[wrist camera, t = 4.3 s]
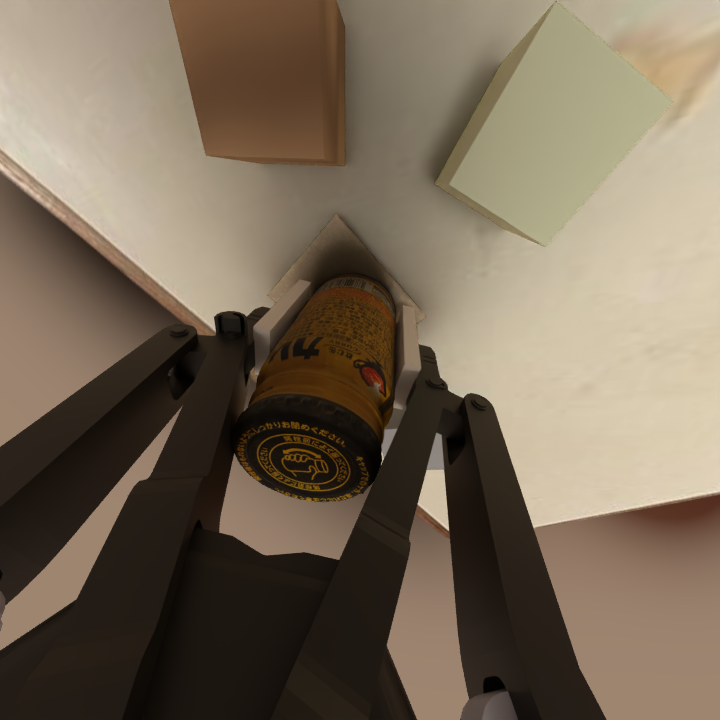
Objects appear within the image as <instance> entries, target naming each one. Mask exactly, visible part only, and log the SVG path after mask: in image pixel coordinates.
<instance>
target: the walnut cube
mask: <svg viewBox="0 0 720 720" xmlns="http://www.w3.org/2000/svg"><path fill="white" fill-rule="evenodd" d="M169 3H170V7H171V11H172V15H173V20H174V24H175V28H176V32H177V36H178V41H179V45H180V49H181V53H182V57H183V62H184V66H185V70H186V74H187V78H188V83H189V87H190V91H191V95H192V99H193V103H194V108H195V112H196V116H197V120H198V124H199V129H200V133H201V137H202V141H203V145H204V150H205V154H206V156H213V157H219V158H226V159H233V160H240V161H247V162H253V163H268V164H298V165H328V166H345V26H344V22H343V19H342V16H341V13H340V10H339V7H338V4H337V1H336V0H169Z"/></svg>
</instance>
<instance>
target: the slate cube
mask: <svg viewBox="0 0 720 720" xmlns="http://www.w3.org/2000/svg"><path fill="white" fill-rule="evenodd" d="M405 410H406V404H405V406H404V408H403V410H401V409H397V408H393V413H392V416H391V418H390V421H389V423H388V425H387V426H386V428H385V430H384V440H383V443H382V452H383V456H384V458H385V456H386V453H387V451H388V449H389V447H390V444H391V442H392V440H393V438H394V435H395V433H396V431H397V428H398V426H399V424H400V422H401V419H402V417H403V415H404V413H405ZM440 469H444V461H443V449H442V435H440V434H438V433H436V436H435V439H434V443H433V447H432V451H431V454H430V458H429V462H428V466H427V470H440Z"/></svg>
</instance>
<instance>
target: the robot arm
mask: <svg viewBox="0 0 720 720" xmlns="http://www.w3.org/2000/svg"><path fill="white" fill-rule="evenodd" d="M310 290H311V282H308V281H304V280H299V281H298V282H297V283H296V284H295V285H294V286H293V287H292V288H291V289H290V290H289V291H288V292H287V293H286V294H285V295H284V296H283V297H282V298H281V299H280V300H279V301H278V302H277V303H276V304H275V305H274V306H273V307H272V308H271V309H270V308H266V307H260V308H257V309H255V310H254V311H252V312H251V313H250V315H248V316H247V317H246V316H245V315H244V314H242V313H240V312H235V311H226V312H221V313H219V314H217V315H216V316H215V317H214V320H215V327H216V335H215V336H206V335H197V330H196V328H194V327H193V326H190V325H185V324H175V325H171V326H168V327H166V328H164V329H162V330H161V331H160V332H158V333H157V334H155V335H154V336H153V337H151V338H150V339H148V340H147V341H146V342H144V343H143V344H142V345H140V346H139V347H137V348H136V349H135V350H133V351H132V352H131V353H129V354H128V355H126V356H125V357H124V358H122V359H121V360H120V361H118V362H117V363H115V364H114V365H113V366H111V367H110V368H108V369H107V370H106V371H104V372H103V373H102V374H100V375H99V376H97V377H96V378H95V379H93V380H92V381H91V382H89V383H88V384H86V385H85V386H84V387H82V388H81V389H80V390H78V391H77V392H75V393H74V394H73V395H71V396H70V397H69V398H67V399H66V400H65V401H63V402H62V403H60V404H59V405H57V406H56V407H55V408H53V409H52V410H51V411H49V412H48V413H46V414H45V415H44V416H42V417H41V418H40V419H38V420H37V421H35V422H34V423H33V424H32V425H30V426H29V427H27V428H26V429H24V430H23V431H22V432H20V433H19V434H18V435H16V436H15V437H13V438H12V439H11V440H9V441H8V442H6V443H5V444H4V445H2V446H1V447H0V630H1V627H2V622H1V617H2V614H3V612H4V609H5V605H6V604H8V602H10V601H11V600H12V599H13V598H14V597H15V596H17V595H18V594H19V593H20V592H21V591H22V590H23V589H24V588H25V587H26V586H27V585H28V584H29V583H30V582H31V581H32V580H33V579H34V578H35V577H36V576H37V575H38V574H39V573H40V572H41V571H42V570H43V569H44V568H45V567H46V566H47V565H48V564H49V563H50V561H51V560H52V559H53V558H54V557H55V556H56V555H57V554H58V553H59V552H60V550H61V549H62V548H63V547H64V546H65V545H66V544H67V542H68V541H69V540H70V539H71V538H72V536H73V535H74V534H75V533H76V532H77V530H78V529H79V528H80V527H81V526H82V524H83V523H84V522H85V521H86V520H87V519H88V517H89V516H90V515H91V514H92V512H93V511H94V510H95V509H96V508H97V507H98V506H99V504H100V503H101V502H102V501H103V499H104V498H105V497H106V496H107V495H108V494H109V492H110V491H111V490H112V489H113V488H114V486H115V485H116V484H117V483H118V482H119V480H120V479H121V478H122V477H123V476H124V475H125V473H126V472H127V471H128V470H129V469H130V467H131V466H132V465H133V464H134V463H135V461H136V460H137V459H138V458H139V457H140V456H141V454H142V453H143V452H144V451H145V450H146V448H147V447H148V446H149V445H150V444H151V442H152V441H153V440H154V439H155V438H156V436H157V435H158V434H159V433H160V432H161V430H162V429H163V428H164V427H165V426H166V424H167V423H168V422H169V421H170V420H171V419H172V417H173V416H174V415H175V414H176V412H177V411H178V410H179V409H180V408H181V407H182V405H183V407H182V409H181V411H180V413H179V416H178V418H177V420H176V422H175V424H174V426H173V428H172V430H171V433H170V435H169V437H168V439H167V441H166V443H165V446H164V448H163V450H162V452H161V454H160V457H159V459H158V461H157V463H156V465H155V467H154V469H153V472H152V473H151V475H150V477H149V478H148V479H146V480H142V481H139V482H138V483H137V484H136V485H135V486H134V487H133V489H132V491H131V492H130V494H129V496H128V498H127V500H126V502H125V504H124V506H123V508H122V510H121V512H120V514H119V516H118V518H117V520H116V522H115V524H114V526H113V528H112V530H111V532H110V534H109V536H108V538H107V540H106V542H105V544H104V546H103V548H102V550H101V552H100V554H99V556H98V558H97V560H96V562H95V564H94V566H93V568H92V570H91V572H90V574H89V576H88V578H87V580H86V582H85V584H84V586H83V588H82V590H81V592H80V594H79V596H78V598H77V599H76V600H75V601H73V602H72V603H70V604H69V605H67V606H66V607H64V608H63V609H62V610H60V611H59V612H57V613H56V614H54V615H53V616H51V617H50V618H48V619H47V620H45V621H44V622H42V623H41V624H39V625H38V626H36V627H35V628H33V629H32V630H30V631H29V632H27V633H26V634H24V635H23V636H21V637H20V638H18V639H17V640H15V641H14V642H12V643H11V644H9V645H8V646H6V647H5V648H3V649H2V650H0V720H417V719H416V716H415V714H414V711H413V709H412V706H411V704H410V701H409V699H408V697H407V694H406V692H405V689H404V687H403V684H402V682H401V680H400V677H399V675H398V672H397V670H396V667H395V665H394V663H393V660H392V658H391V655H390V653H389V650H388V648H387V641H388V637H389V633H390V629H391V625H392V621H393V617H394V613H395V609H396V605H397V601H398V597H399V593H400V589H401V585H402V581H403V577H404V573H405V569H406V565H407V561H408V556H409V552H410V541H409V534H410V530H411V526H412V523H413V519H414V515H415V511H416V507H417V504H418V500H419V496H420V492H421V489H422V485H423V481H424V477H425V473H426V470H427V466H428V462H429V458H430V454H431V451H432V447H433V443H434V439H435V436H436V433H438V434H440V435H442V449H443V461H444V472H445V484H446V496H447V508H448V520H449V532H450V543H451V555H452V567H453V579H454V591H455V603H456V615H457V627H458V637H459V645H460V654H461V661H462V667H463V672H464V677H465V682H466V687H467V692H468V696H469V700H468V702H467V703H466V705H465V706H464V708H463V711H462V715H461V719H460V720H606V718H605V716H604V714H603V712H602V710H601V708H600V706H599V704H598V703H597V701H596V699H595V697H594V695H593V693H592V691H591V689H590V687H589V685H588V684H587V682H586V680H585V678H584V676H583V674H582V672H581V670H580V669H579V665H578V662H577V659H576V656H575V654H574V650H573V647H572V645H571V641H570V638H569V635H568V632H567V629H566V626H565V623H564V620H563V617H562V614H561V611H560V608H559V605H558V602H557V599H556V596H555V593H554V589H553V587H552V584H551V580H550V577H549V575H548V571H547V568H546V565H545V562H544V559H543V556H542V553H541V550H540V547H539V544H538V541H537V538H536V535H535V532H534V529H533V526H532V523H531V520H530V516H529V513H528V510H527V507H526V504H525V501H524V498H523V495H522V492H521V489H520V486H519V483H518V480H517V477H516V474H515V471H514V468H513V465H512V462H511V459H510V456H509V453H508V450H507V447H506V443H505V440H504V437H503V434H502V431H501V428H500V425H499V422H498V419H497V416H496V413H495V410H494V407H493V406H492V404H491V403H490V402H489V401H488V400H487V399H486V398H484V397H482V396H480V395H477V394H473V393H470V394H467V395H466V396H465V397H464V398H461V397H459V396H457V395H455V394H453V393H451V392H450V391H448V386H447V384H446V382H445V381H444V380H442V379H441V378H440V376H439V371H438V366H437V361H436V356H435V353H434V351H433V350H432V349H431V348H430V347H427V346H423V345H419V344H418V336H417V327H416V318H415V310H414V308H413V307H409V306H405V305H403V306H402V309H401V312H400V315H399V318H398V322H397V325H396V347H395V363H396V368H395V379H394V382H395V395H394V397H395V400H394V407H393V408H397V409H401V410H403V408H404V406H405V404H406V410H405V413H404V415H403V417H402V419H401V422H400V424H399V426H398V428H397V431H396V433H395V435H394V438H393V440H392V442H391V444H390V447H389V449H388V451H387V453H386V456H385V458H384V460H383V462H382V465H381V467H380V469H379V471H378V474H377V476H376V478H375V480H374V483H373V485H372V487H371V490H370V492H369V494H368V496H367V499H366V501H365V503H364V506H363V508H362V510H361V512H360V514H359V517H358V519H357V521H356V523H355V526H354V528H353V530H352V533H351V535H350V537H349V539H348V542H347V544H346V546H345V548H344V551H343V553H342V555H341V557H340V560H336V559H332V558H327V557H323V556H319V555H314V554H310V553H305V552H303V553H292V554H281V555H269V556H267V555H262V554H261V553H259V552H257V551H255V550H254V549H253V548H251V547H249V546H248V545H246V544H244V543H243V542H241V541H240V540H238V539H236V538H235V537H233V536H230V535H226V534H222V533H219V525H220V516H221V511H222V506H223V502H224V497H225V493H226V488H227V484H228V479H229V474H230V470H231V465H232V461H233V456H234V451H233V445H232V434H233V430H234V427H235V424H236V422H237V419H238V417H239V416H240V415H241V413H242V412H243V410H244V406H245V401H246V396H247V392H248V387H249V382H250V371H251V370H252V368H253V367H254V366H255V374H256V375H259V371H260V369H261V367H262V366H263V364H264V363H265V361H266V359H267V357H268V356H269V354H270V353H271V352H272V351H273V350H274V348H275V347H276V345H277V343H278V342H279V340H280V339H282V337H283V336H284V335H285V333H286V332H287V330H288V329H289V328H290V326H291V324H292V323H293V322H294V321H295V320H296V318H297V316H298V315H299V313H300V311H301V310H302V309H303V308H304V307H305V305H306V304H307V303H308V301H309V300H310Z"/></svg>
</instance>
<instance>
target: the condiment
mask: <svg viewBox="0 0 720 720" xmlns="http://www.w3.org/2000/svg"><path fill="white" fill-rule="evenodd" d="M299 280H304V281H308V282H311V290H310V300H309V301H308V303H307V304H306V305H305V307H304V308H303V309H302V310H301V311H300V313H299V315H298V316H297V318H296V320H295V321H294V322H293V323H292V324H291V326H290V328H289V329H288V330H287V332H286V333H285V335H284V336H283V337H282V339H280V340H279V342H278V343H277V345H276V347H275V348H274V350H273V351H272V352H271V353H270V354H269V356H268V357H267V359H266V361H265V363H264V364H263V366H262V367H261V369H260V371H259V375H258V378H257V383H256V390H255V392H254V393H253V395H252V397H251V399H250V402H249V405H248V408H247V409H246V410H245V411H244V412H242V413H241V415H240V416H239V417H238V419H237V422H236V424H235V427H234V430H233V434H232V445H233V451H234V453H235V455H236V457H237V459H238V461H239V462H240V465H242V466H243V468H244V469H245V470H246V472H247V473H248V474H249V475H250V476H252V477H253V478H254V479H256V480H257V481H258V482H260V483H261V484H262V485H265V486H266V487H268V488H271V489H272V490H274V491H277V492H280V493H282V494H284V495H287V496H290V497H293V498H299V499H303V500H307V501H315V502H331V501H341V500H346V499H348V498H352V497H354V496H356V495H358V494H363V493H364V492H365V490H366V489H367V488H368V487H369V486H370V485H371V484H372V483H373V482H374V480H375V478H376V476H377V474H378V471H379V469H380V467H381V462H382V455H381V452H382V443H383V440H384V430H385V428H386V426H387V425H388V423H389V421H390V418H391V416H392V413H393V407H394V400H395V397H394V395H395V382H394V379H395V368H396V363H395V347H396V325H397V322H398V318H399V315H400V312H401V309H402V306H403V305H405V306H409V307H413V308H414V310H415V318H416V324H417V323H419V322H420V321H422V320H423V319H424V318H426V316H425V315H424V313H423V312H422V311H421V310H420V309H419V308H418V306H417V305H416V304H415V303H414V302H413V301H412V299H411V298H410V297H409V296H408V295H407V294H406V293H405V292H404V290H403V289H402V288H401V287H400V286H399V284H398V283H397V282H396V281H395V280H394V279H393V278H392V276H391V275H390V274H389V273H388V272H387V271H386V270H385V268H384V267H383V266H382V265H381V264H380V263H379V262H378V261H377V260H376V259H375V258H374V256H373V255H372V254H371V253H370V252H369V251H368V249H367V248H366V247H365V246H364V245H363V244H362V242H361V241H360V240H359V239H358V238H357V237H356V236H355V235H354V234H353V233H352V232H351V230H350V229H349V228H348V227H347V226H346V225H345V223H344V222H343V221H342V220H341V219H340V218H339V217H338V215H337V214H336V215H335V216H334V217H333V218H332V219H331V221H330V222H329V223H328V224H327V225H326V227H325V228H324V229H323V230H322V231H321V232H320V234H319V235H318V236H317V237H316V238H315V240H314V241H313V242H312V243H311V244H310V245H309V247H308V248H307V249H306V250H305V252H304V253H303V254H302V255H301V256H300V257H299V258H298V260H297V261H296V262H295V263H294V265H293V266H292V267H291V268H290V269H289V270H288V271H287V273H286V274H285V275H284V276H283V277H282V278H281V280H280V281H279V282H278V283H277V284H276V285H275V287H274V288H273V289H272V290H271V291H270V292H269V294H268V296H269V297H270V298H271V299H272V300H273V301H274V302H275V303H277V302H278V301H279V300H280V299H281V298H282V297H283V296H284V295H285V294H286V293H287V292H288V291H289V290H290V289H291V288H292V287H293V286H294V285H295V284H296V283H297V282H298V281H299Z"/></svg>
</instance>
